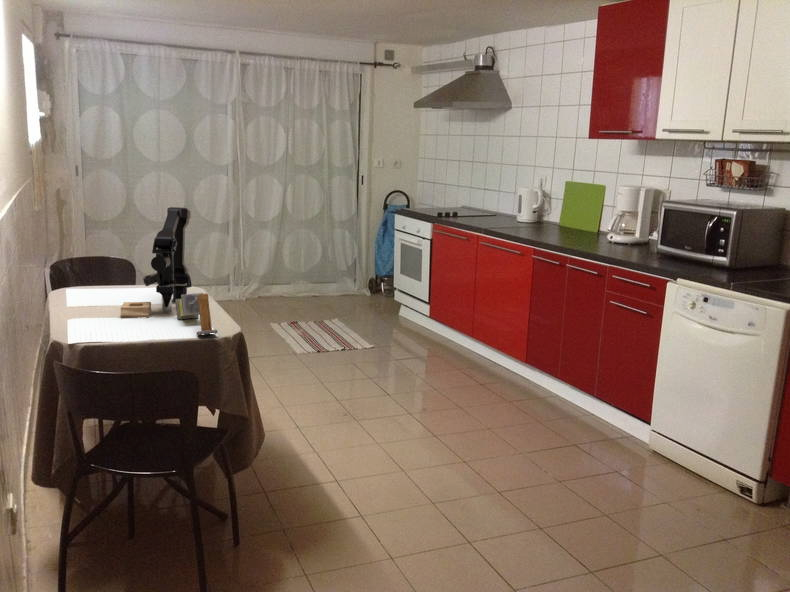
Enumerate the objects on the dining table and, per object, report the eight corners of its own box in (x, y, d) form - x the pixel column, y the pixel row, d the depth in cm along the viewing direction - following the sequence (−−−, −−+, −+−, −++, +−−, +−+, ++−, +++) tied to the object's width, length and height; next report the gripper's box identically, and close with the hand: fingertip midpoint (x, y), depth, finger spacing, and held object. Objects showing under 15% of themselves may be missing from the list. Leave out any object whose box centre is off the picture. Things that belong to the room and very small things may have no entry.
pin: (162, 311, 276) (162, 291, 275) (172, 311, 277) (171, 291, 276) (161, 313, 273) (161, 293, 271) (171, 313, 274) (170, 293, 272)
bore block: (124, 312, 272) (123, 302, 271) (151, 311, 275) (150, 301, 274) (120, 318, 263) (120, 307, 262) (148, 317, 265) (148, 307, 264)
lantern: (179, 344, 263) (197, 334, 238) (175, 299, 265) (192, 285, 240) (200, 342, 267) (220, 332, 241) (195, 298, 269) (214, 284, 243)
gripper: (146, 263, 278) (147, 301, 281) (141, 271, 261) (142, 311, 264) (175, 263, 281) (176, 300, 284) (172, 271, 263) (173, 311, 267)
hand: (166, 305), depth 275 cm, fingers closed on pin, 4 cm apart
